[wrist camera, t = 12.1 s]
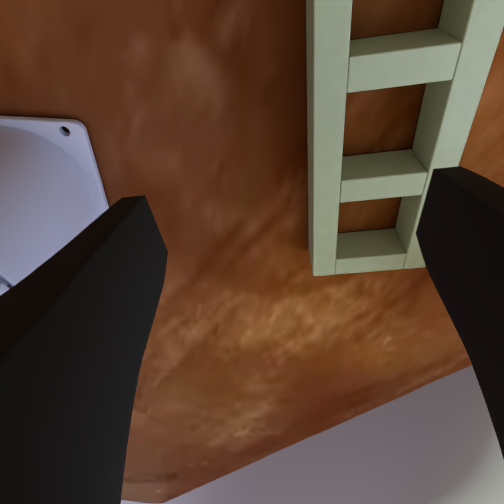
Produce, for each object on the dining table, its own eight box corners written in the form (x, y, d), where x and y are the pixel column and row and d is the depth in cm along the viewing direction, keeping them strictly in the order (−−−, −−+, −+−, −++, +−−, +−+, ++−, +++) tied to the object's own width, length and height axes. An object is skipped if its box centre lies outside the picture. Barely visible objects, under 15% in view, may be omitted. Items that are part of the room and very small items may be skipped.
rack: (308, 250, 24) (313, 276, 22) (304, -146, 12) (313, -159, 10) (412, 241, 24) (425, 267, 22) (527, -186, 11) (580, -208, 9)
